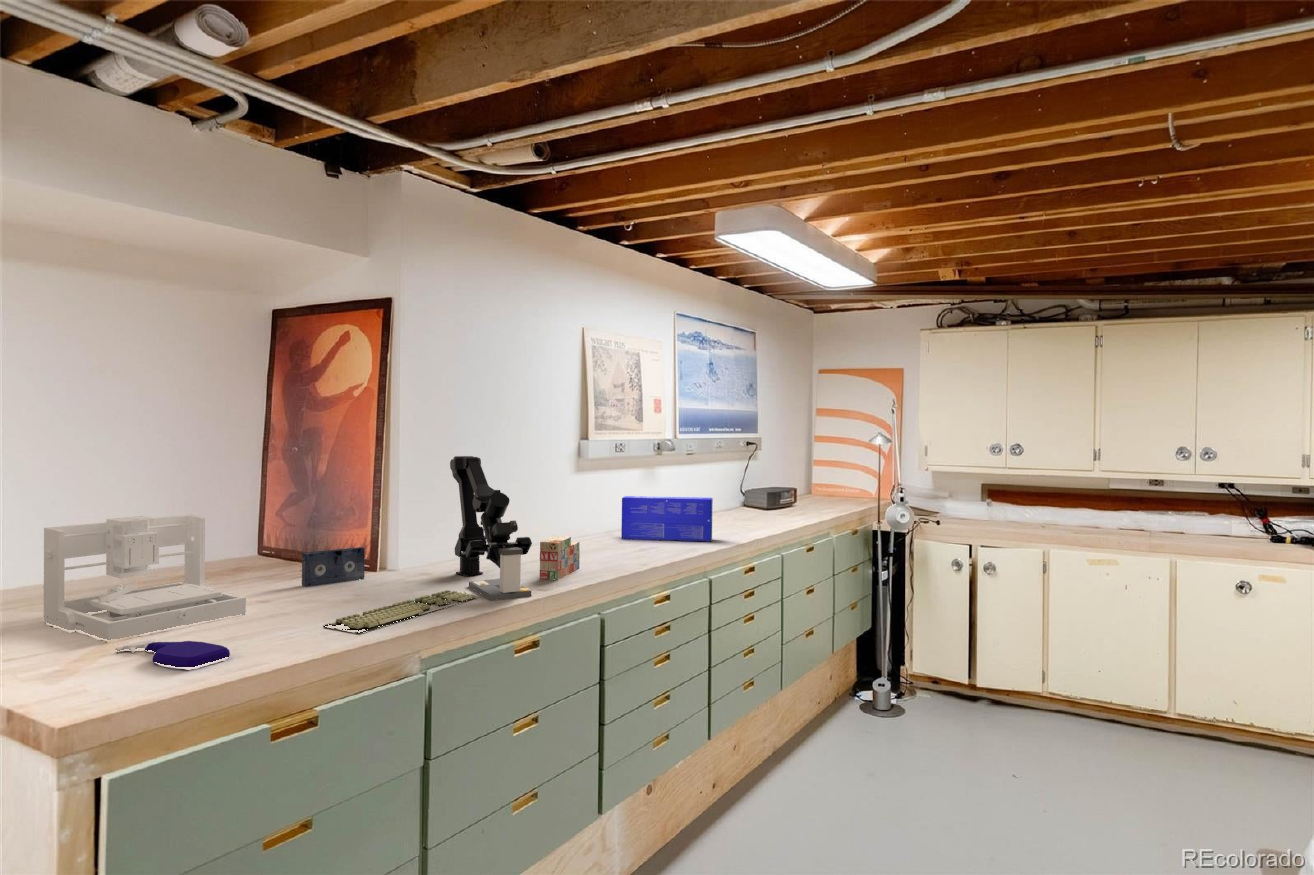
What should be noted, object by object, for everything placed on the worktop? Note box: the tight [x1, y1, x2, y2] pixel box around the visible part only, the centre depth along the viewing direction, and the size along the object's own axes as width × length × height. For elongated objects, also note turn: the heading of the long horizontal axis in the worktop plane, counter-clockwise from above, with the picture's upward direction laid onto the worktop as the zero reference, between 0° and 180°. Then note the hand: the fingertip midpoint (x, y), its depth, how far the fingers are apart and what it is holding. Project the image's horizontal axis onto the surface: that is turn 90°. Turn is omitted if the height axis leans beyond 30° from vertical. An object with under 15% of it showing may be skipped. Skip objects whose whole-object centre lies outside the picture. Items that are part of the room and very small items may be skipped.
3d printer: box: [43, 514, 247, 640], centre depth 190 cm, size 35×32×25 cm
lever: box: [498, 547, 523, 593], centre depth 221 cm, size 4×6×12 cm, turn 121°
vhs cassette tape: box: [301, 546, 366, 588], centre depth 236 cm, size 18×3×10 cm, turn 134°
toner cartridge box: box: [620, 495, 714, 542], centre depth 335 cm, size 39×8×18 cm, turn 84°
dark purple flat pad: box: [114, 638, 231, 667], centre depth 162 cm, size 3×11×24 cm
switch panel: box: [468, 578, 532, 601], centre depth 228 cm, size 20×12×2 cm, turn 31°
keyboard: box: [322, 589, 482, 635], centre depth 203 cm, size 45×15×2 cm, turn 154°
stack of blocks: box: [539, 535, 581, 581], centre depth 256 cm, size 21×6×12 cm, turn 167°
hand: (505, 571), depth 224 cm, fingers closed
